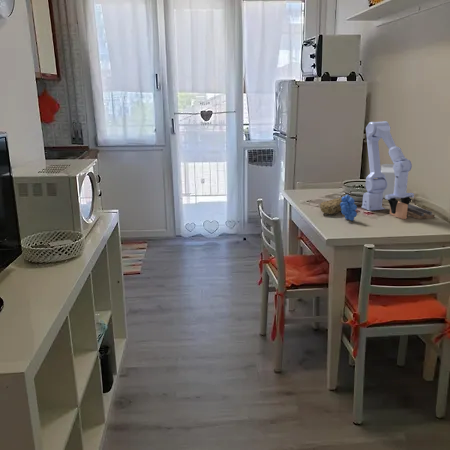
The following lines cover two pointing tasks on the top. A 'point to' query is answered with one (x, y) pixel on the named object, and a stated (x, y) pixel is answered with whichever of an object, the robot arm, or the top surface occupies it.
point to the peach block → (400, 210)
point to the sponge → (331, 206)
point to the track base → (419, 212)
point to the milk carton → (388, 178)
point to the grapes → (348, 207)
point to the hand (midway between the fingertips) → (398, 212)
